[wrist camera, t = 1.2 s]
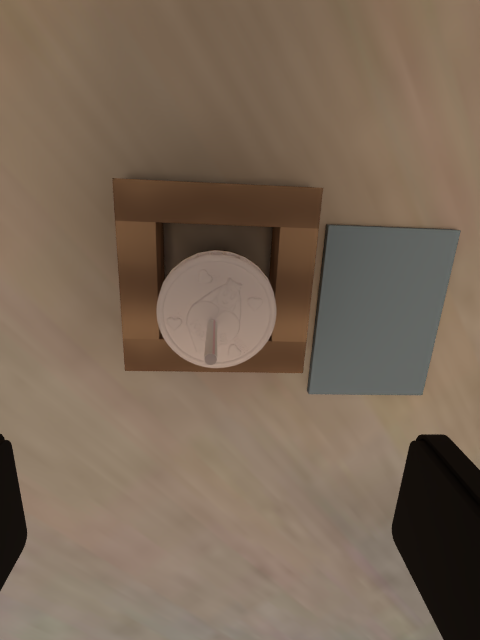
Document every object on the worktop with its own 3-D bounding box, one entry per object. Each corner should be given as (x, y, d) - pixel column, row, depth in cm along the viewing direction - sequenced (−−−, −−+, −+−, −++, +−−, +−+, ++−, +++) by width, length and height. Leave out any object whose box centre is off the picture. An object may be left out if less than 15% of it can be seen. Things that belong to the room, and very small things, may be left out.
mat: (326, 224, 28) (328, 225, 27) (455, 229, 28) (460, 230, 28) (307, 390, 32) (308, 394, 32) (418, 391, 33) (422, 395, 33)
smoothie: (161, 291, 29) (113, 379, 16) (198, 215, 27) (179, 241, 14) (234, 327, 30) (247, 435, 17) (274, 256, 28) (323, 317, 15)
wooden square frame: (125, 179, 26) (112, 178, 23) (310, 188, 27) (323, 188, 24) (135, 350, 30) (125, 370, 27) (293, 353, 31) (302, 372, 28)
